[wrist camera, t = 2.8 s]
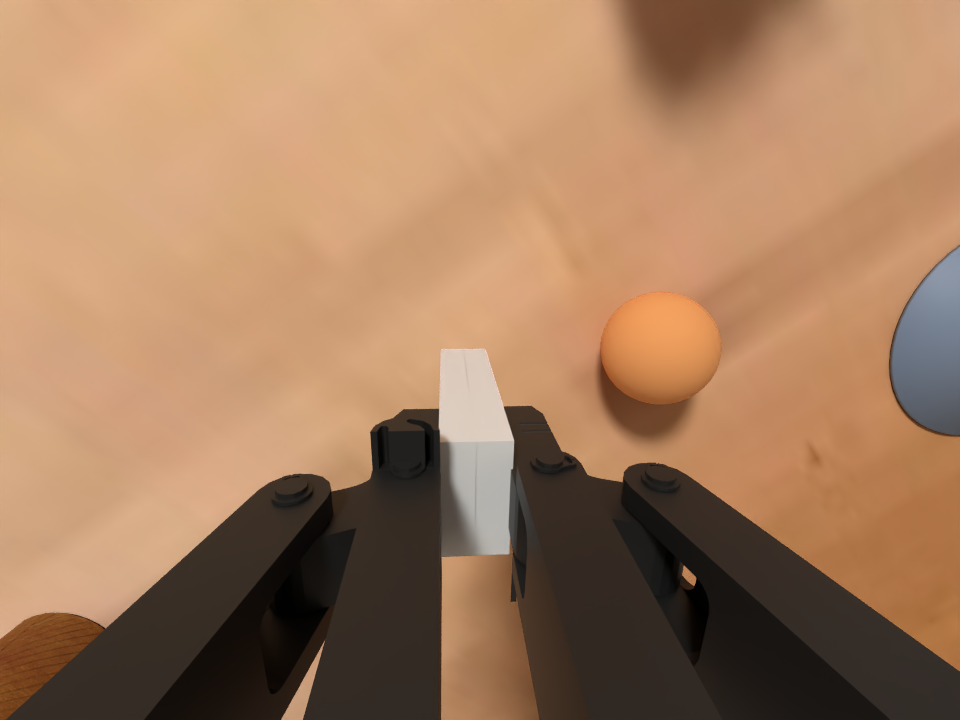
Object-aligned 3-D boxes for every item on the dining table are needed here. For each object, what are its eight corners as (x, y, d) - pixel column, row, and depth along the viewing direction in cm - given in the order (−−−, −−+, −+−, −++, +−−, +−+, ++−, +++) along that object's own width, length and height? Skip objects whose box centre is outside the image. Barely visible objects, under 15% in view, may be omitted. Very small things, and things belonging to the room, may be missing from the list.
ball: (676, 381, 26) (735, 421, 20) (582, 383, 25) (619, 424, 20) (690, 285, 24) (759, 301, 19) (590, 284, 24) (632, 301, 18)
